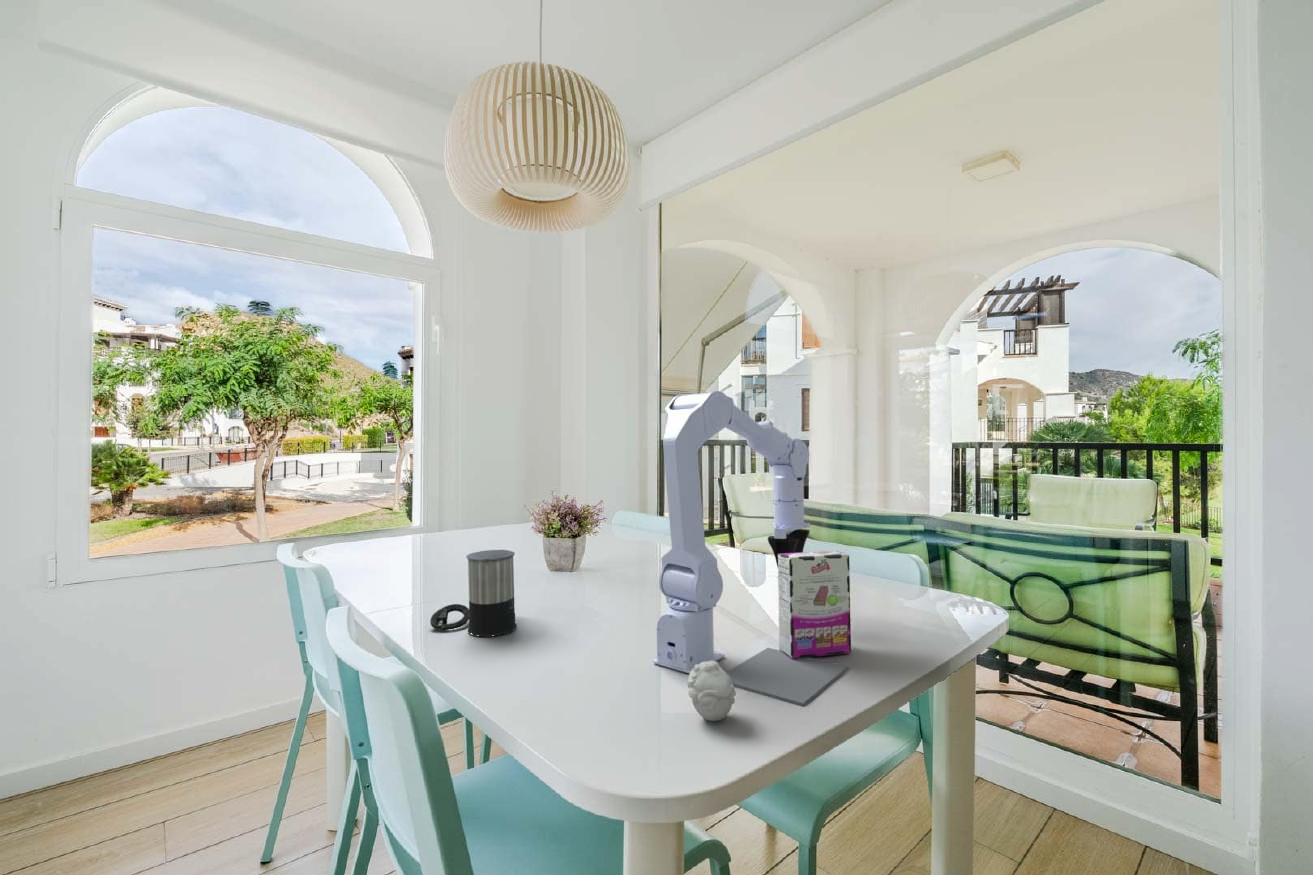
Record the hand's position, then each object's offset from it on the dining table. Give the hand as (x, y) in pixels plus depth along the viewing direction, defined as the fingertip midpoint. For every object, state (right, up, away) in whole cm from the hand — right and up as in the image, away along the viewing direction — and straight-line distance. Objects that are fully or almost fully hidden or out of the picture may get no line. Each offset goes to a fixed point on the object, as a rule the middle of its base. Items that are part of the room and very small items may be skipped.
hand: (789, 570), depth 115 cm
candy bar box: (0, -10, -16) cm, 19 cm away
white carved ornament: (-19, -11, -38) cm, 44 cm away
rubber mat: (-7, -10, -25) cm, 28 cm away
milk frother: (-62, -12, +1) cm, 63 cm away
